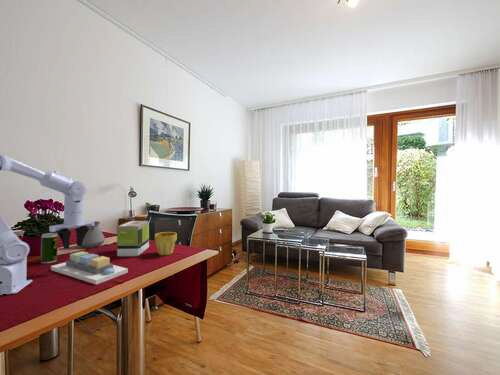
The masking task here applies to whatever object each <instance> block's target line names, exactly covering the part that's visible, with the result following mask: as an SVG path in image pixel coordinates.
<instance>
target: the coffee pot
mask: <svg viewBox="0 0 500 375" xmlns="http://www.w3.org/2000/svg"><path fill="white" fill-rule="evenodd" d="M100 223H101V221H95V220H94V226H87V227H89V231H88V232H87V233H86V235H85V237H84V240H83V243H82V246H81V247H84V248H85V249H87V248H97V247H100V246H102V244H103V243H104V242H105V241H106V237H105V236H104V234H103V232H102V229H101V228H100Z"/></svg>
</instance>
